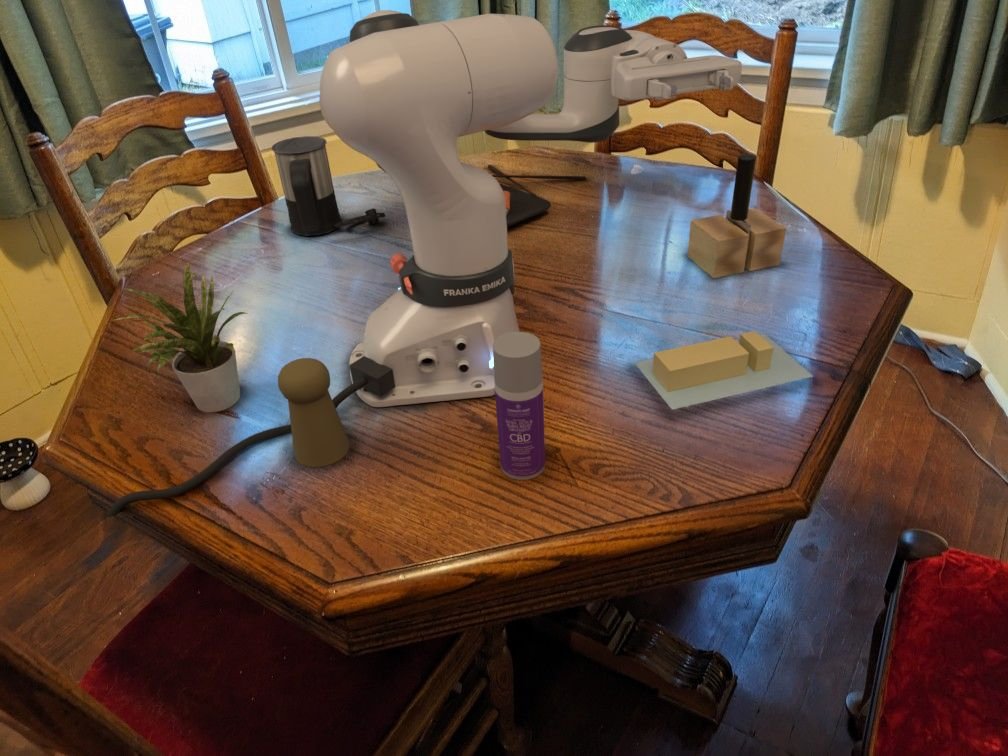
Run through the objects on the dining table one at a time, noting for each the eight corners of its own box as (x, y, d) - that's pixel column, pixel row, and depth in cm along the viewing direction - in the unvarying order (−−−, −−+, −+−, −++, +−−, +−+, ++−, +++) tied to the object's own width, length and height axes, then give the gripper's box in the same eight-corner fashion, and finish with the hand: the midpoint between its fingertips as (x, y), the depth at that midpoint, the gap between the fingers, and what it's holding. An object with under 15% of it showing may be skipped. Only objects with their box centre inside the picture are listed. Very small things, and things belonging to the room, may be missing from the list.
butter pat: (754, 372, 86) (758, 351, 84) (736, 354, 89) (739, 333, 87) (769, 369, 86) (774, 347, 84) (751, 351, 89) (754, 330, 87)
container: (511, 486, 74) (503, 363, 65) (493, 458, 77) (483, 338, 69) (553, 471, 75) (550, 349, 66) (533, 445, 79) (528, 326, 70)
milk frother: (285, 223, 132) (265, 141, 124) (367, 204, 138) (354, 124, 129) (304, 252, 122) (284, 165, 113) (393, 230, 127) (380, 145, 119)
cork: (337, 470, 77) (316, 385, 71) (284, 464, 78) (259, 381, 72) (357, 433, 82) (339, 351, 75) (307, 428, 83) (286, 347, 77)
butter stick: (667, 392, 83) (669, 370, 82) (652, 373, 86) (653, 352, 85) (745, 374, 85) (749, 353, 84) (727, 356, 88) (730, 335, 87)
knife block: (713, 278, 107) (718, 240, 103) (687, 256, 113) (690, 219, 110) (779, 265, 109) (786, 228, 106) (750, 244, 115) (755, 208, 112)
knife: (736, 270, 108) (751, 164, 99) (715, 254, 113) (728, 151, 104) (750, 267, 109) (767, 162, 100) (729, 251, 114) (743, 149, 104)
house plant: (154, 378, 93) (107, 262, 84) (264, 352, 97) (231, 238, 87) (152, 445, 82) (98, 320, 73) (277, 412, 86) (240, 290, 76)
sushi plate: (396, 197, 140) (394, 178, 138) (511, 156, 156) (510, 138, 153) (497, 239, 122) (496, 218, 120) (615, 188, 137) (616, 168, 135)
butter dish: (671, 416, 81) (672, 409, 81) (633, 368, 89) (633, 362, 89) (812, 383, 85) (813, 376, 84) (763, 340, 93) (764, 333, 92)
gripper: (714, 81, 124) (759, 101, 113) (602, 97, 120) (638, 119, 109) (718, 41, 121) (765, 58, 110) (603, 56, 117) (640, 74, 106)
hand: (701, 88), depth 110 cm, fingers open, 8 cm apart
